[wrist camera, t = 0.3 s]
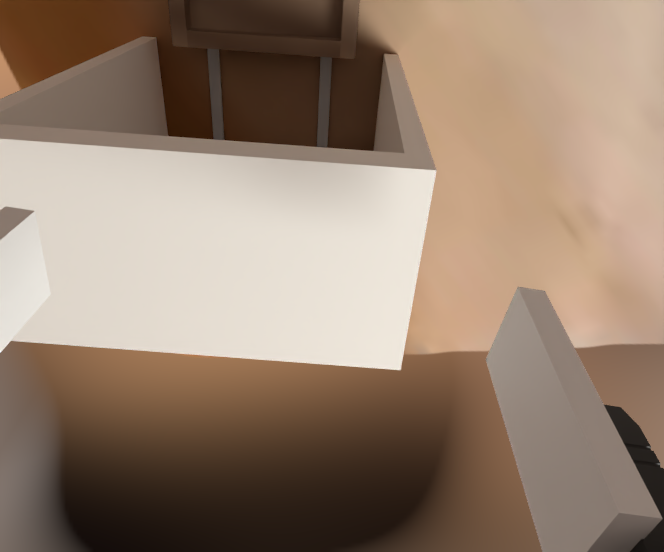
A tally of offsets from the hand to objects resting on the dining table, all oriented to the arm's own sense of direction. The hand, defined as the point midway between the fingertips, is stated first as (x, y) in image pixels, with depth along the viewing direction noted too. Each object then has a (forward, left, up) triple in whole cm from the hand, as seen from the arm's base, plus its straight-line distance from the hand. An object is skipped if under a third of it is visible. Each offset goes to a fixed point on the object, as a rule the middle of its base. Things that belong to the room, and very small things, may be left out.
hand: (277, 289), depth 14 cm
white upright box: (-7, -4, -27) cm, 28 cm away
